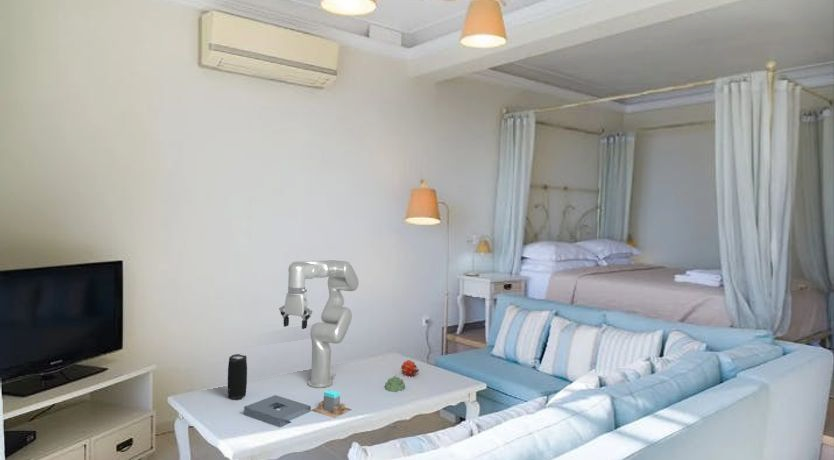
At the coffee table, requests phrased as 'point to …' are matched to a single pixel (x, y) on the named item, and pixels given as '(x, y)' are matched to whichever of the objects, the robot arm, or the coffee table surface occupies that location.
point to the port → (269, 414)
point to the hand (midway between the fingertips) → (295, 327)
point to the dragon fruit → (409, 368)
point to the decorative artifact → (395, 384)
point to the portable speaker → (237, 376)
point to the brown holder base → (337, 410)
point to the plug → (331, 400)
